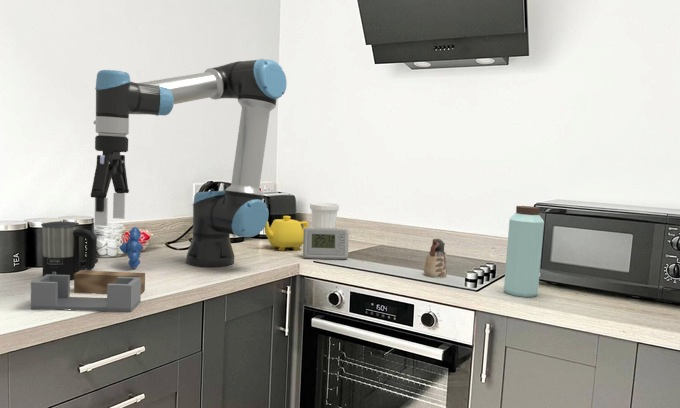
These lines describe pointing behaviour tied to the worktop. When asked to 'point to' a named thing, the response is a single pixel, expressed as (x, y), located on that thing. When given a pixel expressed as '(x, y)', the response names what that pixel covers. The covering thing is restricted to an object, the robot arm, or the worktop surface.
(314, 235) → the digital clock
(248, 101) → the robot arm
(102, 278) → the slat
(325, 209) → the cup
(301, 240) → the teapot
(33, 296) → the rail
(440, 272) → the figurine
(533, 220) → the water bottle
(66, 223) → the milk frother
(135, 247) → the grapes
